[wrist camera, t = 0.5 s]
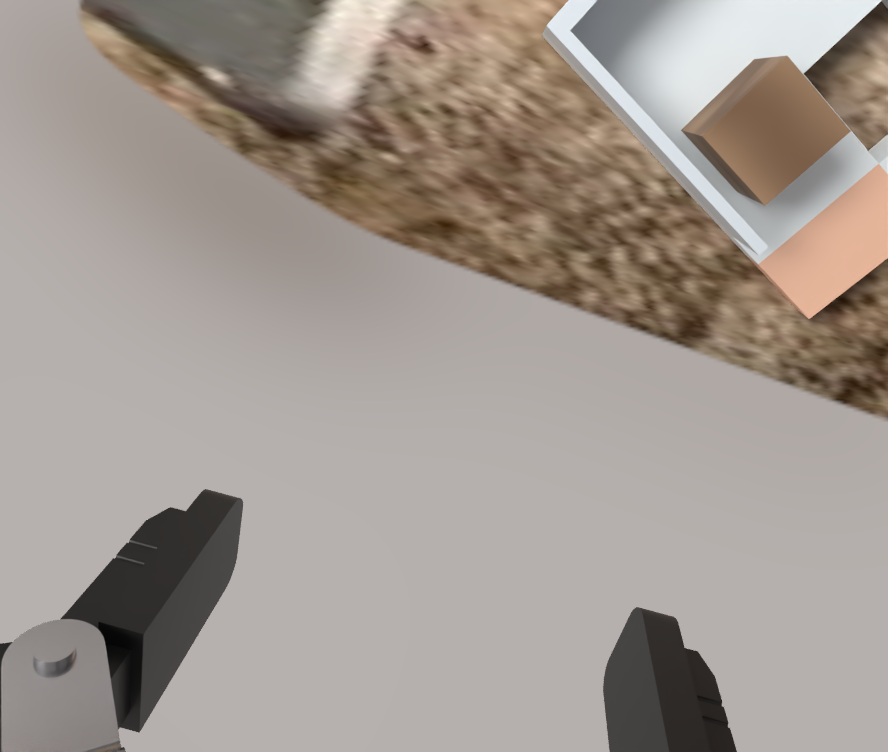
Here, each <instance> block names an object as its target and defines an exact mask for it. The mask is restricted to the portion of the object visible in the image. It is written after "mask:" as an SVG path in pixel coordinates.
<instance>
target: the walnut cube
mask: <svg viewBox="0 0 888 752" xmlns="http://www.w3.org/2000/svg"><path fill="white" fill-rule="evenodd" d="M681 131H682V132H683V133H684V134H685V135H686V136H687V137H688V139H689V140H690V141H691V142H692V143H693V144H694V145H695V146H696V147H697V148H698V150H699V151H700V152H701V153H702V154H703V155H704V156H705V157H706V158H707V159H708V161H709V162H710V163H711V164H712V165H713V166H714V167H715V168H716V169H717V170H718V172H719V173H720V174H721V175H722V176H723V177H724V178H725V179H726V180H727V181H728V183H729V184H730V185H731V186H732V187H733V188H734V189H735V190H736V191H737V192H738V193H740V194H742V195H744V196H746V197H748V198H750V199H752V200H755V201H757V202H759V203H761V204H763V205H765V206H766V205H767V204H768V203H769V202H770V201H771V200H772V199H774V198H775V197H776V196H777V195H778V194H779V193H780V192H782V191H783V190H784V189H785V188H786V187H787V186H789V185H790V184H791V183H792V182H793V181H794V180H795V179H797V178H798V177H799V176H800V175H801V174H802V173H803V172H805V171H806V170H807V169H808V168H809V167H810V166H812V165H813V164H814V163H815V162H816V161H817V160H818V159H820V158H821V157H822V156H823V155H824V154H825V153H826V152H828V151H829V150H830V149H831V148H832V147H833V146H834V145H836V144H837V143H838V142H839V141H840V140H841V139H843V138H844V137H845V136H846V135H847V134H848V133H849V132H851V131H850V130H849V128H848V127H847V126H846V125H845V124H844V122H843V121H842V120H841V119H840V118H839V116H838V115H837V114H836V113H835V112H834V110H833V109H832V108H831V107H830V106H829V105H828V103H827V102H826V101H825V100H824V99H823V97H822V96H821V95H820V94H819V93H818V91H817V90H816V89H815V88H814V87H813V85H812V84H811V83H810V82H809V81H808V79H807V78H806V77H805V76H804V75H803V74H802V72H801V71H800V70H799V69H798V68H797V66H796V65H795V64H794V63H793V62H792V60H791V59H790V58H789V57H788V56H778V57H769V58H760V59H754V60H753V61H752V62H751V63H750V64H749V65H748V66H746V67H745V68H744V69H743V70H742V71H741V72H740V73H739V74H738V75H737V76H736V77H735V78H734V79H733V80H732V81H731V82H730V83H729V84H728V85H727V86H726V87H725V88H724V89H723V90H722V91H721V92H720V93H719V94H718V95H717V96H716V97H715V98H714V99H712V100H711V101H710V102H709V103H708V104H707V105H706V106H705V107H704V108H703V109H702V110H701V111H700V112H699V113H698V114H697V115H696V116H695V117H694V118H693V119H692V120H691V121H690V122H689V123H688V124H687V125H686V126H685V127H684V128H683V129H682V130H681Z"/></svg>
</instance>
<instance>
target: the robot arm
mask: <svg viewBox="0 0 888 752" xmlns="http://www.w3.org/2000/svg"><path fill="white" fill-rule="evenodd" d="M242 510H243V501H242V499H240V498H237V497H233V496H229V495H226V494H222V493H218V492H215V491H211V490H206V489H205V490H203V491H202V492H201V493H200V494H199V496H198V497H197V498H196V499H195V501H194V502H193V503H192V504H191V506H190V507H189V508H188V509H187V511H182V510H178V509H174V508H168V509H166V510H164V511H163V512H161V513H159V514H158V515H156V516H154V517H152V518H150V519H148V520H146V521H145V522H144V524H143V525H142V526H141V527H140V529H139V530H138V531H137V532H136V533H135V534H134V535H133V536H132V538H131V539H130V541H129V543H126V545H125V546H124V547H123V548H122V549H121V550H120V551H119V553H118V554H117V556H116V558H115V559H112V561H111V562H110V563H109V564H108V565H107V566H106V567H105V569H104V570H103V571H102V572H101V573H100V574H99V576H98V577H97V578H96V579H95V580H94V582H93V583H92V584H91V585H90V586H89V587H88V588H87V589H86V591H85V592H84V593H83V594H82V595H81V596H80V597H79V599H78V600H77V601H76V602H75V603H74V605H73V606H72V607H71V608H70V609H69V610H68V611H67V613H66V614H65V615H64V616H63V617H62V618H61V619H60V620H53V621H49V622H46V623H42V624H40V625H37V626H35V627H33V628H31V629H29V630H27V631H26V632H24V633H23V634H21V635H20V636H19V637H18V638H16V639H15V640H14V641H13V642H10V643H5V644H4V643H3V644H0V752H126V751H125V748H124V747H123V748H121V744H120V738H119V732H118V729H119V728H120V727H121V728H125V729H129V730H132V731H136V732H140V731H141V729H142V727H143V726H144V724H145V722H146V720H147V719H148V717H149V716H150V714H151V712H152V711H153V709H154V707H155V706H156V704H157V702H158V701H159V699H160V697H161V696H162V694H163V692H164V691H165V689H166V687H167V685H168V684H169V682H170V681H171V679H172V677H173V676H174V674H175V672H176V671H177V669H178V667H179V666H180V664H181V662H182V661H183V659H184V657H185V656H186V654H187V652H188V651H189V649H190V647H191V646H192V644H193V642H194V641H195V639H196V637H197V636H198V634H199V632H200V631H201V629H202V627H203V626H204V624H205V622H206V620H207V619H208V617H209V616H210V614H211V612H212V611H213V609H214V607H215V606H216V604H217V602H218V601H219V599H220V597H221V596H222V594H223V592H224V591H225V589H226V587H227V585H228V583H229V581H230V578H231V576H232V573H233V570H234V567H235V563H236V559H237V552H238V543H239V535H240V526H241V518H242ZM603 692H604V702H605V712H606V721H607V730H608V740H609V749H610V752H737V751H736V747H735V744H734V741H733V737H732V734H731V730H730V728H728V720H727V717H726V713H725V710H724V707H722V700H721V696H720V693H719V689H718V686H717V683H716V679H715V676H714V675H713V673H712V672H711V671H710V669H709V667H708V666H707V664H706V663H705V661H704V660H703V659H702V657H701V656H700V654H699V653H698V652H697V651H693V650H690V649H686V648H684V645H683V640H682V636H681V632H680V629H679V625H678V622H677V620H676V618H674V617H672V616H668V615H664V614H661V613H657V612H653V611H650V610H646V609H642V608H638V607H636V608H635V609H634V610H633V611H632V612H631V615H630V616H629V618H628V621H627V623H626V625H625V627H624V629H623V631H622V633H621V635H620V637H619V639H618V641H617V643H616V645H615V648H614V650H613V652H612V654H611V656H610V658H609V660H608V663H607V667H606V671H605V676H604V686H603Z"/></svg>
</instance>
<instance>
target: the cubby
mask: <svg viewBox="0 0 888 752" xmlns="http://www.w3.org/2000/svg"><path fill="white" fill-rule="evenodd" d="M881 1H882V2H883V4H884V5H885V6H886V8H887V9H888V0H569V1H568V2H567V3H566V4H565V5H564V6H563V7H562V9H561V10H560V11H559V12H558V13H557V14H556V15H555V17H554V18H553V19H552V20H551V21H550V22H549V23H548V25H547V26H546V28H545V30H544V33H543V35H542V37H543V38H544V39H545V40H546V41H547V42H548V43H549V44H550V45H551V46H552V47H553V48H554V49H555V50H556V52H557V53H558V54H559V55H560V56H561V57H562V58H563V59H564V60H565V61H566V62H567V63H568V64H569V66H570V67H571V68H572V69H573V70H574V71H575V72H576V73H577V74H578V75H579V76H580V77H581V78H582V80H583V81H584V82H585V83H586V84H587V85H588V86H589V87H590V88H591V89H592V90H593V91H594V92H595V93H596V95H597V96H598V97H599V98H600V99H601V100H602V101H603V102H604V103H605V104H606V105H607V106H608V107H609V109H610V110H611V111H612V112H613V113H614V114H615V115H616V116H617V117H618V118H619V119H620V120H621V121H622V123H623V124H624V125H625V126H626V127H627V128H628V129H629V130H630V131H631V132H632V133H633V134H634V135H635V136H636V138H637V139H638V140H639V141H640V142H641V143H642V144H643V145H644V146H645V147H646V148H647V149H648V150H649V152H650V153H651V154H652V155H653V156H654V157H655V158H656V159H657V160H658V161H659V162H660V163H661V164H662V166H663V167H664V168H665V169H666V170H667V171H668V172H669V173H670V174H671V175H672V176H673V177H674V178H675V179H676V181H677V182H678V183H679V184H680V185H681V186H682V187H683V188H684V189H685V190H686V191H687V192H688V193H689V195H690V196H691V197H692V198H693V199H694V200H695V201H696V202H697V203H698V204H699V205H700V206H701V207H702V209H703V210H704V211H705V212H706V213H707V214H708V215H709V216H710V217H711V218H712V219H713V220H714V221H715V222H716V224H717V225H718V226H719V227H720V228H721V229H722V230H723V231H724V232H725V233H726V234H727V235H728V236H729V238H730V239H731V240H732V241H733V242H734V243H735V244H736V245H737V246H738V247H739V248H740V249H741V250H742V251H743V253H744V254H745V255H746V256H747V257H748V258H749V259H750V260H751V261H752V262H753V263H754V264H755V265H756V267H757V268H758V269H759V270H760V271H761V272H762V273H763V274H764V275H765V276H766V277H767V278H768V279H769V281H770V282H771V283H772V284H773V285H774V286H775V287H776V288H777V289H778V290H779V291H780V292H781V293H782V294H783V296H784V297H785V298H786V299H787V300H788V301H789V302H790V303H791V304H792V305H793V306H794V307H795V308H796V309H797V310H798V311H800V312H801V313H802V314H803V315H805V316H806V317H807V318H808V319H810V318H811V317H813V316H814V315H815V314H816V313H818V312H819V311H820V310H822V309H823V308H824V307H825V306H827V305H828V304H829V303H831V302H832V301H833V300H834V299H836V298H837V297H838V296H840V295H841V294H842V293H843V292H845V291H846V290H847V289H849V288H850V287H851V286H852V285H854V284H855V283H856V282H858V281H859V280H860V279H861V278H863V277H864V276H865V275H867V274H868V273H869V272H870V271H872V270H873V269H874V268H876V267H877V266H878V265H879V264H881V263H882V262H883V261H885V260H886V259H887V258H888V135H886V136H885V137H884V138H883V139H882V140H880V141H879V142H878V143H877V144H876V145H875V146H873V147H872V148H871V149H870V150H869V151H868V150H867V149H866V148H865V147H864V145H863V144H862V143H861V142H860V141H859V139H858V138H857V137H856V136H855V135H854V133H853V132H852V131H851V130H850V129H849V130H850V131H851V132H849V133H848V134H847V135H846V136H845V137H844V138H843V139H841V140H840V141H839V142H838V143H837V144H836V145H834V146H833V147H832V148H831V149H830V150H829V151H828V152H826V153H825V154H824V155H823V156H822V157H821V158H820V159H818V160H817V161H816V162H815V163H814V164H813V165H812V166H810V167H809V168H808V169H807V170H806V171H805V172H803V173H802V174H801V175H800V176H799V177H798V178H797V179H795V180H794V181H793V182H792V183H791V184H790V185H789V186H787V187H786V188H785V189H784V190H783V191H782V192H780V193H779V194H778V195H777V196H776V197H775V198H774V199H772V200H771V201H770V202H769V203H768V204H767V205H766V206H765V205H763V204H761V203H759V202H757V201H755V200H752V199H750V198H748V197H746V196H744V195H742V194H740V193H738V192H737V191H736V190H735V189H734V188H733V187H732V186H731V185H730V184H729V183H728V181H727V180H726V179H725V178H724V177H723V176H722V175H721V174H720V173H719V172H718V170H717V169H716V168H715V167H714V166H713V165H712V164H711V163H710V162H709V161H708V159H707V158H706V157H705V156H704V155H703V154H702V153H701V152H700V151H699V150H698V148H697V147H696V146H695V145H694V144H693V143H692V142H691V141H690V140H689V139H688V137H687V136H686V135H685V134H684V133H683V132H682V131H681V130H682V129H683V128H684V127H685V126H686V125H687V124H688V123H689V122H690V121H691V120H692V119H693V118H694V117H695V116H696V115H697V114H698V113H699V112H700V111H701V110H702V109H703V108H704V107H705V106H706V105H707V104H708V103H709V102H710V101H711V100H712V99H714V98H715V97H716V96H717V95H718V94H719V93H720V92H721V91H722V90H723V89H724V88H725V87H726V86H727V85H728V84H729V83H730V82H731V81H732V80H733V79H734V78H735V77H736V76H737V75H738V74H739V73H740V72H741V71H742V70H743V69H744V68H745V67H746V66H748V65H749V64H750V63H751V62H752V61H753V60H754V59H760V58H769V57H778V56H788V57H789V58H790V59H791V60H792V62H793V63H794V64H795V65H796V66H797V68H798V69H799V70H800V71H801V72H802V74H803V75H804V73H805V72H806V71H807V70H808V69H809V68H810V67H811V66H812V65H813V64H814V63H815V62H816V61H818V60H819V59H820V58H821V57H822V56H823V55H824V54H825V53H826V52H827V51H828V50H829V49H830V48H832V47H833V46H834V45H835V44H836V43H837V42H838V41H839V40H840V39H841V38H842V37H843V36H844V35H845V34H847V33H848V32H849V31H850V30H851V29H852V28H853V27H854V26H855V25H856V24H857V23H858V22H859V21H860V20H862V19H863V18H864V17H865V16H866V15H867V14H868V13H869V12H870V11H871V10H872V9H873V8H874V7H876V6H877V5H878V4H879V3H880V2H881ZM804 76H805V75H804ZM805 77H806V76H805ZM806 78H807V77H806ZM808 81H809V80H808ZM809 82H810V81H809ZM810 83H811V82H810ZM811 84H812V83H811ZM813 87H814V86H813ZM814 88H815V87H814ZM815 89H816V88H815ZM816 90H817V89H816ZM818 93H819V92H818ZM819 94H820V93H819ZM820 95H821V94H820ZM821 96H822V95H821ZM822 97H823V96H822ZM823 99H824V98H823ZM824 100H825V99H824ZM825 101H826V100H825ZM826 102H827V101H826ZM827 103H828V102H827ZM828 105H829V104H828ZM829 106H830V105H829ZM830 107H831V106H830ZM831 108H832V107H831ZM832 109H833V108H832ZM834 112H835V111H834ZM835 113H836V112H835ZM836 114H837V113H836ZM837 115H838V114H837ZM839 118H840V117H839ZM840 119H841V118H840ZM841 120H842V119H841ZM842 121H843V120H842ZM844 124H845V123H844ZM845 125H846V124H845ZM846 126H847V125H846ZM847 127H848V126H847ZM848 128H849V127H848Z"/></svg>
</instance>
